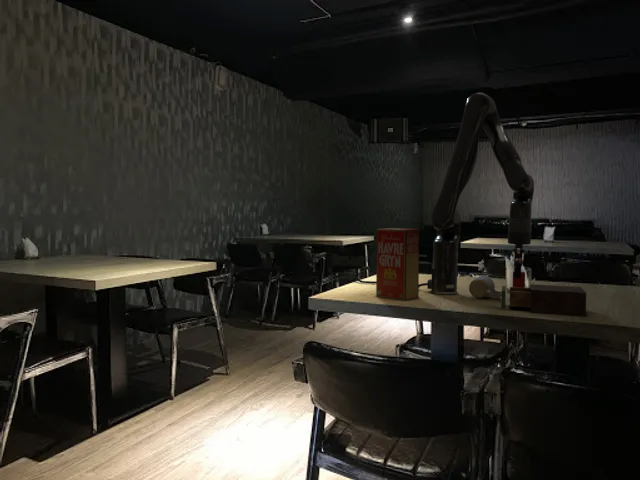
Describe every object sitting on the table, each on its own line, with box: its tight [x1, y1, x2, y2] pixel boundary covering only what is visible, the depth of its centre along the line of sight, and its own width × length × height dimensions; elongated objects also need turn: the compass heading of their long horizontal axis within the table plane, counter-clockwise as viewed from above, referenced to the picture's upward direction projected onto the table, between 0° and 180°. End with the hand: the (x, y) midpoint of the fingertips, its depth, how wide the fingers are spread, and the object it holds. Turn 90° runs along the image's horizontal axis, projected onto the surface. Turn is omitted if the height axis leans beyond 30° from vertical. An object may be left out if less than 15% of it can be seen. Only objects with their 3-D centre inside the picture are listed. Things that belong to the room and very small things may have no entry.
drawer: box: [486, 285, 531, 309], centre depth 160 cm, size 19×11×5 cm, turn 69°
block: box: [511, 270, 526, 288], centre depth 173 cm, size 4×4×10 cm
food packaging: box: [375, 227, 420, 302], centre depth 178 cm, size 13×9×25 cm
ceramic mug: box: [468, 274, 501, 300], centre depth 178 cm, size 11×8×8 cm
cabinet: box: [529, 283, 587, 317], centre depth 156 cm, size 15×13×7 cm
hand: (517, 276), depth 173 cm, fingers open, 8 cm apart
